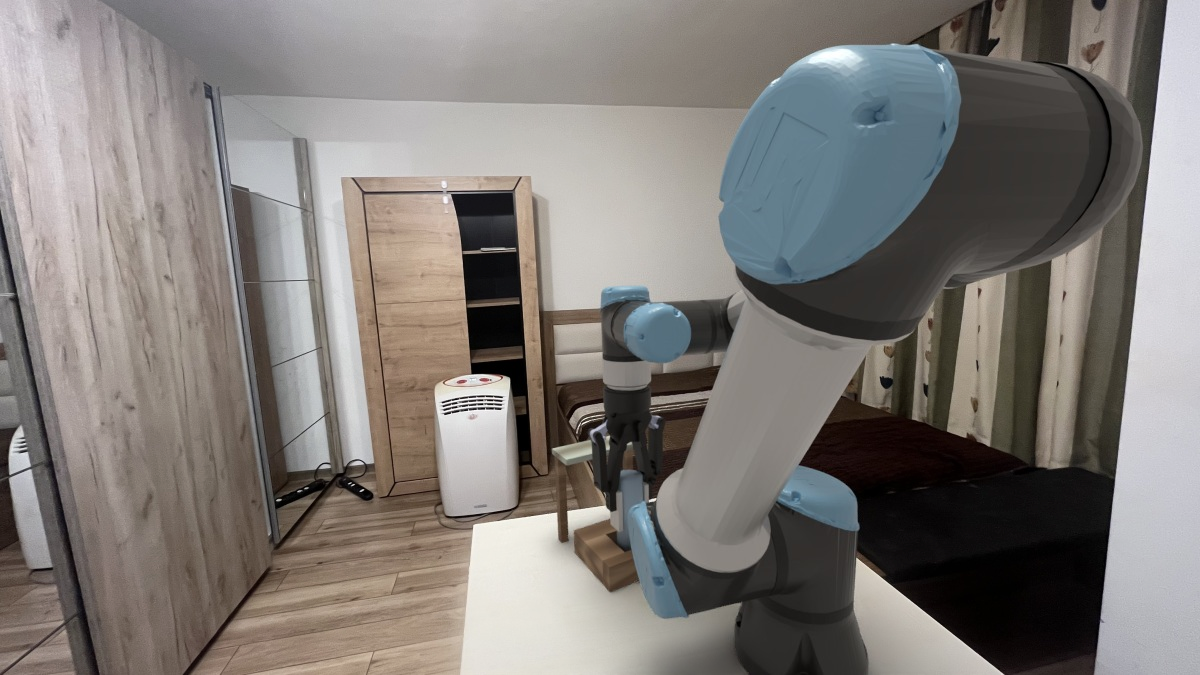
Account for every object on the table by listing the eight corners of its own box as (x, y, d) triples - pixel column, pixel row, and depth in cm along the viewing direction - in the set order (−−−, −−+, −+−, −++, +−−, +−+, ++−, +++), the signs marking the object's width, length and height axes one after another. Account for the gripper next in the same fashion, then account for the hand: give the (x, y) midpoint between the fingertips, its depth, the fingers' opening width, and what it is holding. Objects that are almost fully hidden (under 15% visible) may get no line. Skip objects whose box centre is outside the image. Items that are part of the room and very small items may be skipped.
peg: (634, 545, 81) (632, 467, 79) (649, 558, 78) (647, 477, 76) (612, 552, 79) (610, 473, 77) (626, 566, 75) (624, 483, 74)
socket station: (688, 560, 78) (687, 461, 76) (604, 594, 70) (600, 486, 68) (630, 514, 93) (628, 431, 91) (556, 538, 85) (551, 448, 83)
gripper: (657, 373, 82) (659, 500, 85) (566, 387, 73) (572, 527, 77) (685, 381, 75) (686, 518, 79) (589, 398, 67) (594, 550, 70)
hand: (629, 522), depth 78 cm, fingers closed on peg, 4 cm apart
